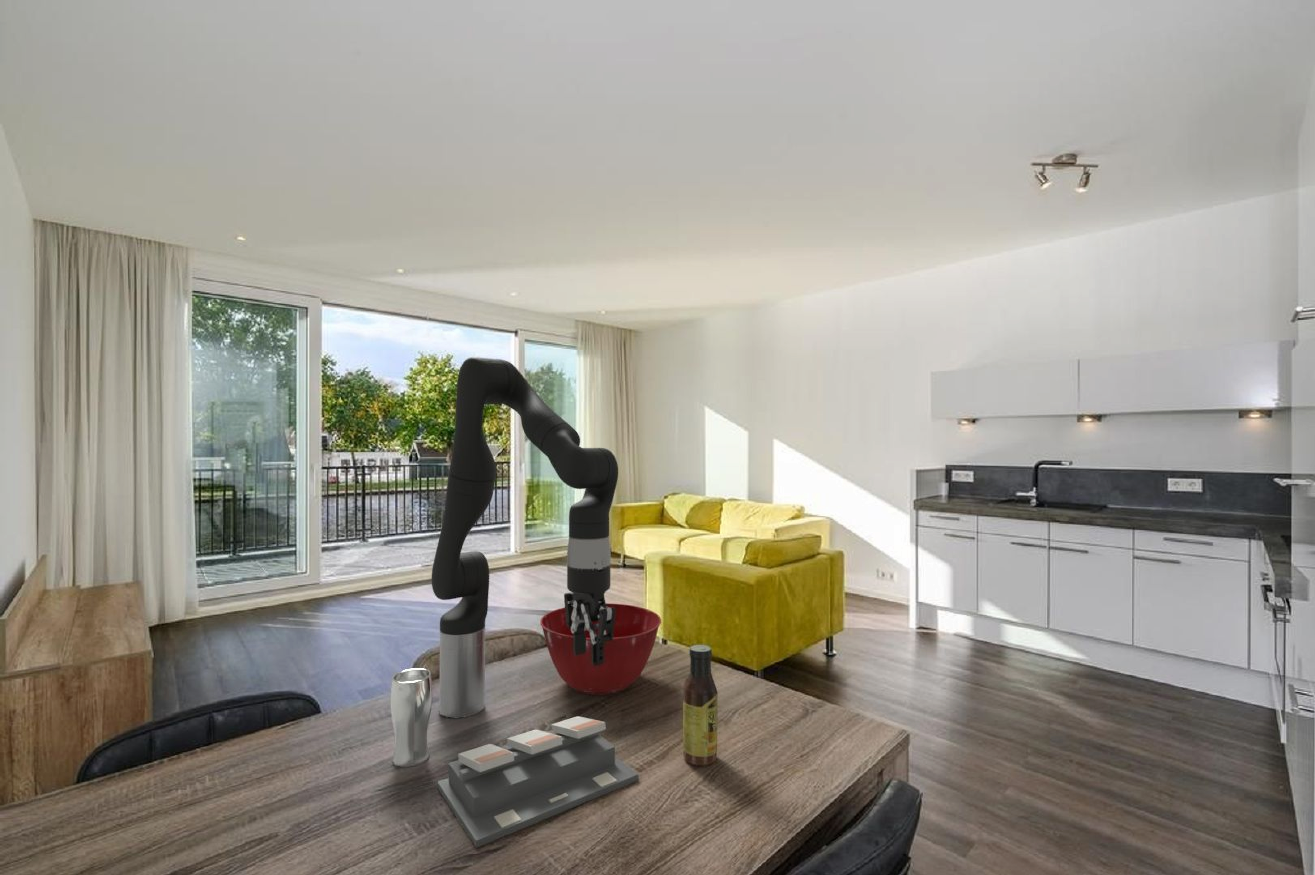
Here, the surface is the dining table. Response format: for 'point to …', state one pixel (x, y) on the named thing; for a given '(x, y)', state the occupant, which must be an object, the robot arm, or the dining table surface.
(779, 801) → the dining table surface
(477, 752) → the switch
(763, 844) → the dining table surface
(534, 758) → the switch box
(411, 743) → the beer glass
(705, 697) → the sauce bottle
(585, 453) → the robot arm
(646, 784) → the dining table surface
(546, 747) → the switch
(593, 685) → the mixing bowl
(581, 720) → the switch
